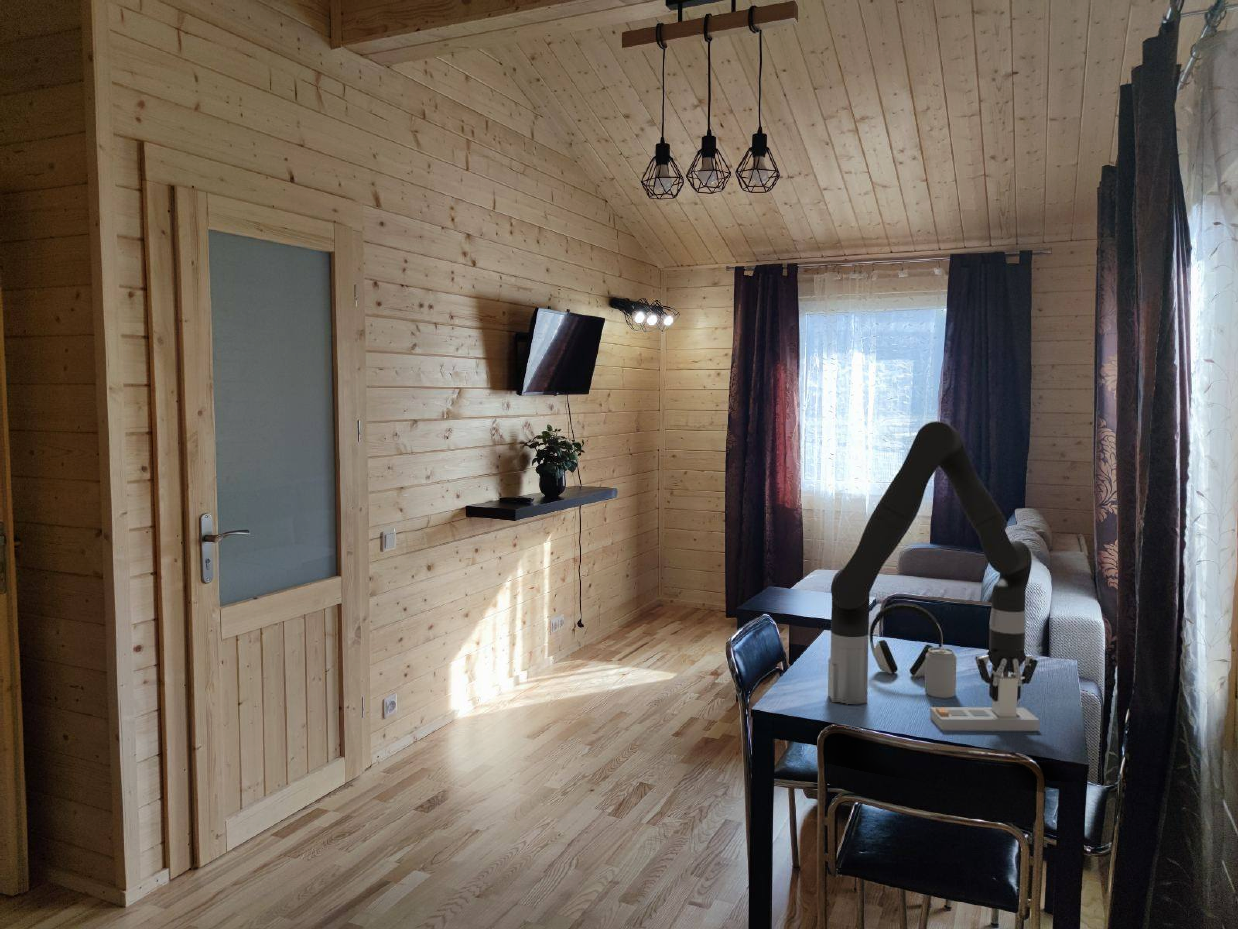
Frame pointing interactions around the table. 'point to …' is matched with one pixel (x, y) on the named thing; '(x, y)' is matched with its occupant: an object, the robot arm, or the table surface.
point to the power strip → (982, 719)
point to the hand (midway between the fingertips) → (1004, 700)
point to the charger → (1006, 696)
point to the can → (940, 672)
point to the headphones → (882, 648)
